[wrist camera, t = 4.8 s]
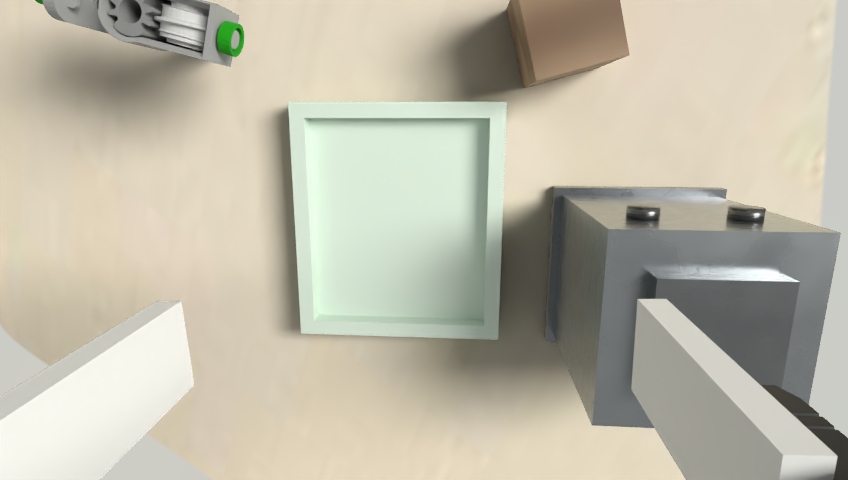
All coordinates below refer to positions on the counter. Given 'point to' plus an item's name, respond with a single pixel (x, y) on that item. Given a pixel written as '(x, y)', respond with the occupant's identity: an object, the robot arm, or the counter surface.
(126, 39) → the mechanical component
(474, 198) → the tray
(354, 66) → the counter surface
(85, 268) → the counter surface
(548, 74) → the walnut block
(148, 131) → the counter surface
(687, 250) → the unit
